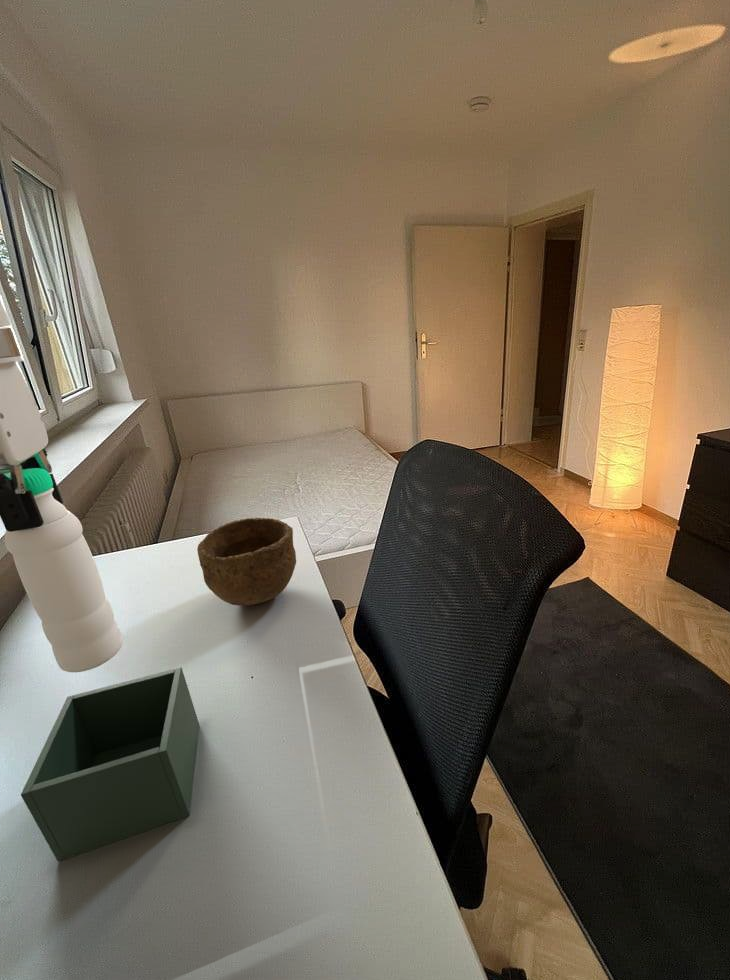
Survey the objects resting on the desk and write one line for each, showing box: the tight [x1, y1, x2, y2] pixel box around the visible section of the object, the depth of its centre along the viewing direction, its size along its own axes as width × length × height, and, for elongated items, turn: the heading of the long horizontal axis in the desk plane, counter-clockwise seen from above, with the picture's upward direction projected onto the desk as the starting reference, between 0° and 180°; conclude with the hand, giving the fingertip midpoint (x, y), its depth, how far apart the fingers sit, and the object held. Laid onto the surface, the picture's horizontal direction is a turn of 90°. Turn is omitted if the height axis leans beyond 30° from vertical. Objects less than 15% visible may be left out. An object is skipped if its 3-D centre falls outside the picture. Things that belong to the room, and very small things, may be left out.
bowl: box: [196, 517, 297, 606], centre depth 92 cm, size 19×19×15 cm
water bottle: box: [3, 468, 124, 673], centre depth 53 cm, size 7×7×25 cm
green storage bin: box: [20, 666, 200, 862], centre depth 55 cm, size 14×14×11 cm
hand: (36, 516), depth 50 cm, fingers closed on water bottle, 5 cm apart
